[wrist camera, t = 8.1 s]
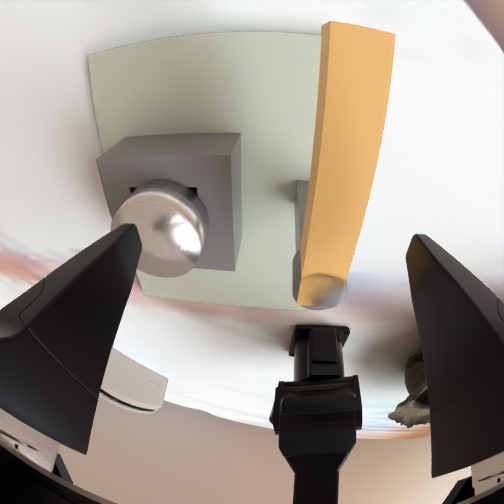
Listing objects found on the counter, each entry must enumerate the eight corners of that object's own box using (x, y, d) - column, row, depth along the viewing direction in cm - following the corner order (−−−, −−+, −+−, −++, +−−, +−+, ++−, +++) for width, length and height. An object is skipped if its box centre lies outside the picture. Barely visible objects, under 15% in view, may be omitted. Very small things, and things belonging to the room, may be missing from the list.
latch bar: (337, 282, 15) (341, 311, 14) (289, 279, 16) (289, 308, 14) (383, 36, 7) (403, 36, 6) (313, 24, 8) (320, 19, 6)
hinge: (80, 339, 42) (64, 382, 34) (90, 325, 41) (73, 369, 33) (156, 383, 49) (152, 426, 41) (169, 372, 48) (167, 417, 40)
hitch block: (306, 303, 29) (307, 373, 23) (147, 288, 30) (122, 350, 24) (344, 40, 14) (387, 38, 7) (95, 54, 15) (16, 76, 9)
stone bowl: (360, 387, 42) (365, 436, 35) (443, 276, 27) (473, 340, 20) (462, 383, 42) (471, 422, 35) (540, 295, 27) (564, 337, 20)
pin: (222, 220, 22) (204, 281, 17) (156, 217, 23) (124, 273, 18) (219, 153, 19) (194, 202, 14) (144, 154, 19) (100, 201, 14)
